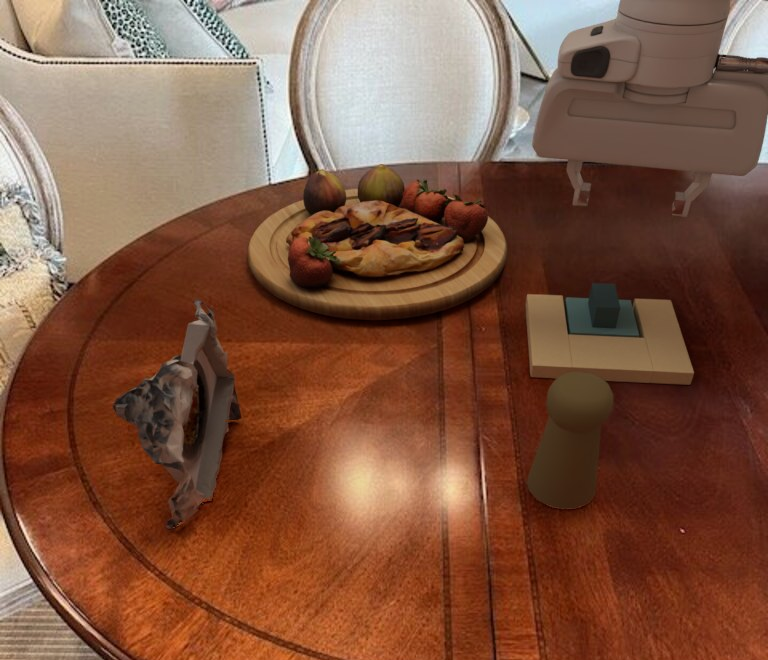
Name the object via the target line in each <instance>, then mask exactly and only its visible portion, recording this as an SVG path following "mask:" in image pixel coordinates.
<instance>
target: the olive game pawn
mask: <svg viewBox="0 0 768 660" xmlns="http://www.w3.org/2000/svg"><path fill="white" fill-rule="evenodd" d="M545 406H546V411H547V414H548V416H549V417H548V419H547V422H546V425H545V428H544V430H543V434H542V436H541V438H540V442H539V444H538V447H537V450H536V453H535V455H534V457H533V460H532V461H533V462H532V464H531V467H530V468H529V472H528V475H527V478H528V479H527V478H526V486H527V485H528V488H529V491H530V492H531V493H532V494H533V495H534V496H535V498H537V499H538V500H540V501H541V502H543V503H545V504H548V505H551V506H553V507H559V508H564V509H566V508H572V509H573V508H577V507H579V506H581V505H582V506H583V505H585V504H587V503H588V502H589V501H591V500H592V498H593V497H594V496H595V497H596V495H595V494H597V483H598V471H599V470H598V469H599V459H600V458H599V456H600V446H601V445H600V444H601V434H602V433H601V431H602V425H604V424H605V423H606V422H607V420H608V419H609V418H610V415H611V414H612V412H613V409H614V392H613V390H612V389H611V386H610V385H609V383H608V381H605V380H604V379H602V378H600V377H598V376H596V375H593V374H590V373H585V372H570V373H566V374H563V375H562V376H560V377H558V378H555V379H554V380H553V381H552V383H551V385H550V386H549V388H548V390H547V394H546V400H545ZM528 488H527V489H528ZM529 491H528V492H529ZM595 497H594V498H595ZM594 498H593V499H594ZM592 501H593V500H592Z"/></svg>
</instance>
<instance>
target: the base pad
mask: <svg viewBox="0 0 768 660" xmlns="http://www.w3.org/2000/svg"><path fill="white" fill-rule="evenodd" d="M564 305H565V301H564V296H563V295H559V294H533V293H527V295H526V299H525V320H526V331H527V332H526V333H527V346H528V347H527V348H528V359H529V361H528V363H529V373H530V374H529V375H530V378H537V379H538V378H541V379H557V378H558V377H560V376H562V375H563V374H566V373H570V372H585V373H590V374H593V375H596V376H598V377H600V378H602V379H604V380H605V381H606V382H622V383H638V384H639V383H641V384H642V383H643V384H662V385H663V384H664V385H683V386H684V385H685V386H687V385H688V386H690V385H691V384H692V381H693V378H694V375H695V371H694V367H693V365H692V362H691V358H690V355H689V353H688V350H687V345H686V342H685V340H684V337H683V334H682V331H681V327H680V324H679V321H678V318H677V315H676V312H675V308H674V305H673V302H672V300H671V299H655V298H634V300H633V304H632V308H633V312H634V316H635V320H636V324H637V328H638V332H639V338H635V337H613V336H591V335H568V332H567V324H566V317H565V310H564Z"/></svg>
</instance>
